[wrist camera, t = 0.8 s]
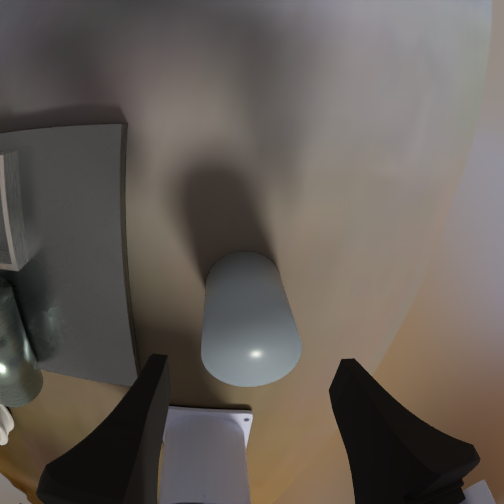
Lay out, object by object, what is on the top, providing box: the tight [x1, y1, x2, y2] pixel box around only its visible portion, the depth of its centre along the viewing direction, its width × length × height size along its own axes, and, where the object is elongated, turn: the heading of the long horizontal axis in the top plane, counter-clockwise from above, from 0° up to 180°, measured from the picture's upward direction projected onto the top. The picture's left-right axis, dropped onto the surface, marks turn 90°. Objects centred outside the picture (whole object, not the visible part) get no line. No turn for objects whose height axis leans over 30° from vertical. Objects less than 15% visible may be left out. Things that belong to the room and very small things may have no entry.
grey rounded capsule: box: [201, 251, 302, 387], centre depth 16 cm, size 4×4×6 cm
